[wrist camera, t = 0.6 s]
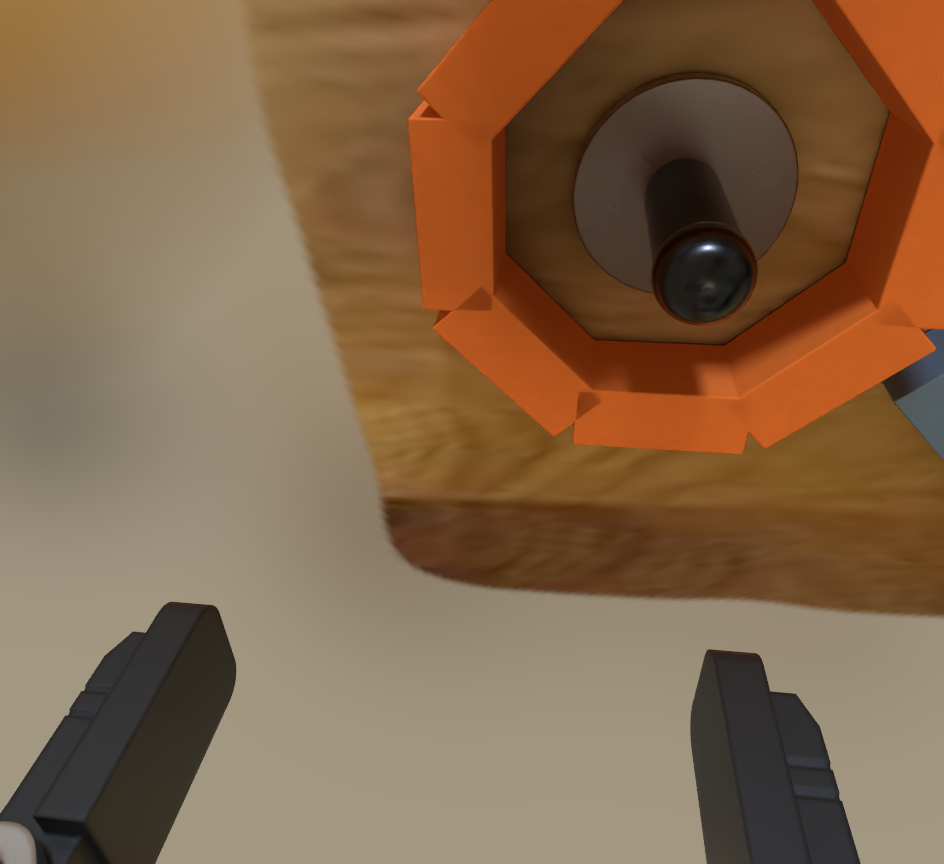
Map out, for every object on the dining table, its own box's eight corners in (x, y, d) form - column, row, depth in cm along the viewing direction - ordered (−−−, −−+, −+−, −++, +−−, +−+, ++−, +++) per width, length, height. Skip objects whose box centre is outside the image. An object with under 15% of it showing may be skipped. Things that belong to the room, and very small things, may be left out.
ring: (749, -308, 17) (780, -349, 14) (1064, 194, 22) (1132, 237, 19) (341, 183, 25) (309, 219, 22) (641, 460, 31) (645, 518, 28)
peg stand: (704, 17, 21) (749, 70, 14) (837, 190, 23) (928, 303, 17) (530, 185, 24) (505, 289, 18) (661, 321, 27) (680, 456, 20)
